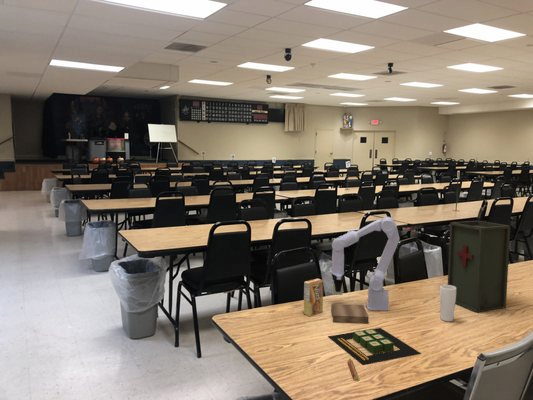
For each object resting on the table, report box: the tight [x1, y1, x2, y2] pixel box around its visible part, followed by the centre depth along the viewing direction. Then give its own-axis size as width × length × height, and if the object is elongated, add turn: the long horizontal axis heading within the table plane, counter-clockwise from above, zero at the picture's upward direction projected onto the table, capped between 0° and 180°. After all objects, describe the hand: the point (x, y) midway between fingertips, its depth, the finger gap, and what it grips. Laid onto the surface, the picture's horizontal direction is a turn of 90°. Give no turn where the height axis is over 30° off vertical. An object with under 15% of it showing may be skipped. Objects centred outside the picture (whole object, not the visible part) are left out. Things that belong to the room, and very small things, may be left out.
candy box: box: [303, 278, 324, 317], centre depth 195 cm, size 9×4×15 cm, turn 129°
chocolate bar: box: [346, 357, 360, 381], centre depth 142 cm, size 3×12×2 cm, turn 179°
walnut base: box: [330, 303, 369, 324], centre depth 191 cm, size 15×15×3 cm
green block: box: [331, 281, 343, 296], centre depth 207 cm, size 4×4×5 cm
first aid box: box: [447, 220, 511, 314], centre depth 206 cm, size 18×18×40 cm
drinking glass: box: [439, 284, 456, 322], centre depth 187 cm, size 7×7×15 cm
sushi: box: [327, 327, 422, 366], centre depth 162 cm, size 25×25×4 cm
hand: (337, 290), depth 207 cm, fingers closed on green block, 4 cm apart
